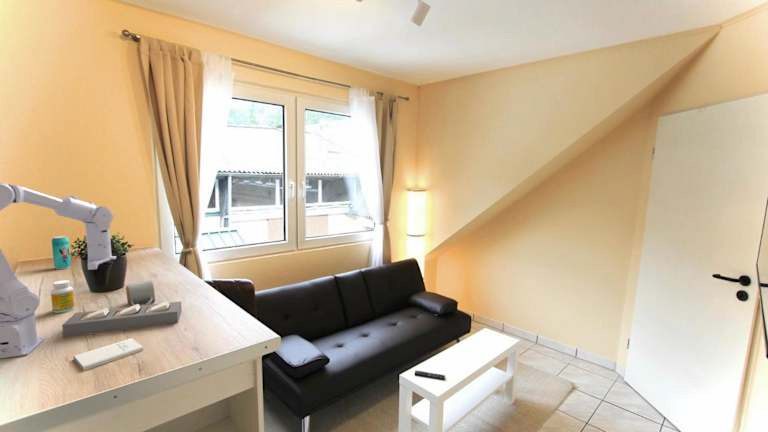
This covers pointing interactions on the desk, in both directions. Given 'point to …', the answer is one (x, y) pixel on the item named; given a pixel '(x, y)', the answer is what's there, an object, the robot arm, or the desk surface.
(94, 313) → the rocker
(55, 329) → the desk surface
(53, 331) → the desk surface
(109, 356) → the external hard drive
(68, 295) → the supplement bottle
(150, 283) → the ceramic mug
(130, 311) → the rocker
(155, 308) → the rocker
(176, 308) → the rocker switch panel
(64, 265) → the beverage can
